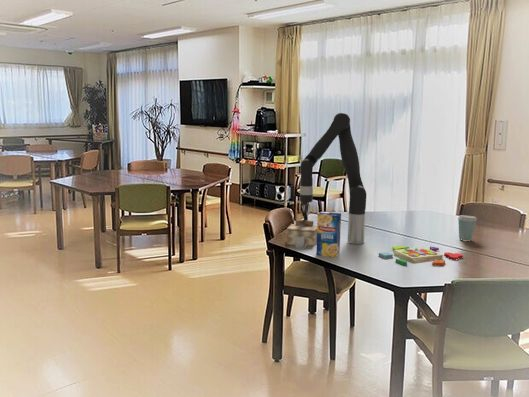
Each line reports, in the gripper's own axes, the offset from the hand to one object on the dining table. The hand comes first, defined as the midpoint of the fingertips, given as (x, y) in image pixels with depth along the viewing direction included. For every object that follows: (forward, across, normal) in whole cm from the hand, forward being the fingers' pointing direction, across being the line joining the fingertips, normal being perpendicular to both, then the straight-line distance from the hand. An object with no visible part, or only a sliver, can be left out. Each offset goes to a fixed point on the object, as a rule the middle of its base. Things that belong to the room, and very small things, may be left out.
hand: (305, 222), depth 291 cm
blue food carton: (+10, -26, -18) cm, 33 cm away
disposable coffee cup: (+11, +31, -91) cm, 97 cm away
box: (+10, -7, 0) cm, 12 cm away
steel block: (+10, -17, -1) cm, 20 cm away
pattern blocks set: (+11, -14, -64) cm, 66 cm away
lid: (+2, -7, 0) cm, 7 cm away
